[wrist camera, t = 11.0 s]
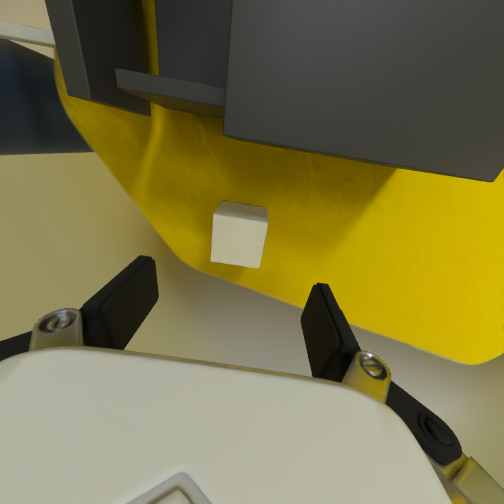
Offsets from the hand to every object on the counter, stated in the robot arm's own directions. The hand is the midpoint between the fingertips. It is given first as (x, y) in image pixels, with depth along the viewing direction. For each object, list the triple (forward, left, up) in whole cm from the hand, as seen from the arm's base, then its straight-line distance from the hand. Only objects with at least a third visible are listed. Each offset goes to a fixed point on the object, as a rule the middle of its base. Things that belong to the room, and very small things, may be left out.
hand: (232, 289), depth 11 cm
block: (0, 0, -11) cm, 11 cm away
